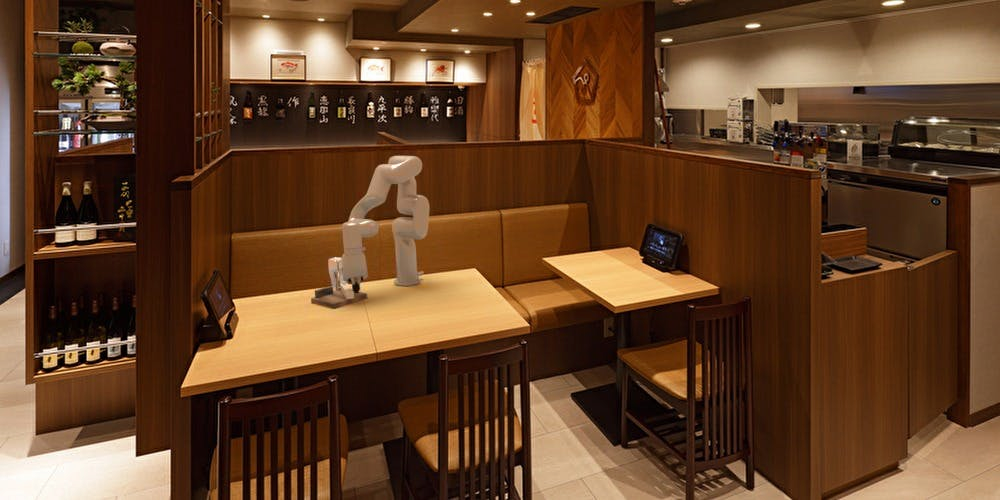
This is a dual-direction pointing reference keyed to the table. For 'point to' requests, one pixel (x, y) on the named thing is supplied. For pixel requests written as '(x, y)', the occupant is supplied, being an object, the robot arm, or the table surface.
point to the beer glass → (335, 272)
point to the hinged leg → (347, 290)
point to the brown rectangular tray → (334, 297)
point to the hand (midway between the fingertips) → (356, 292)
